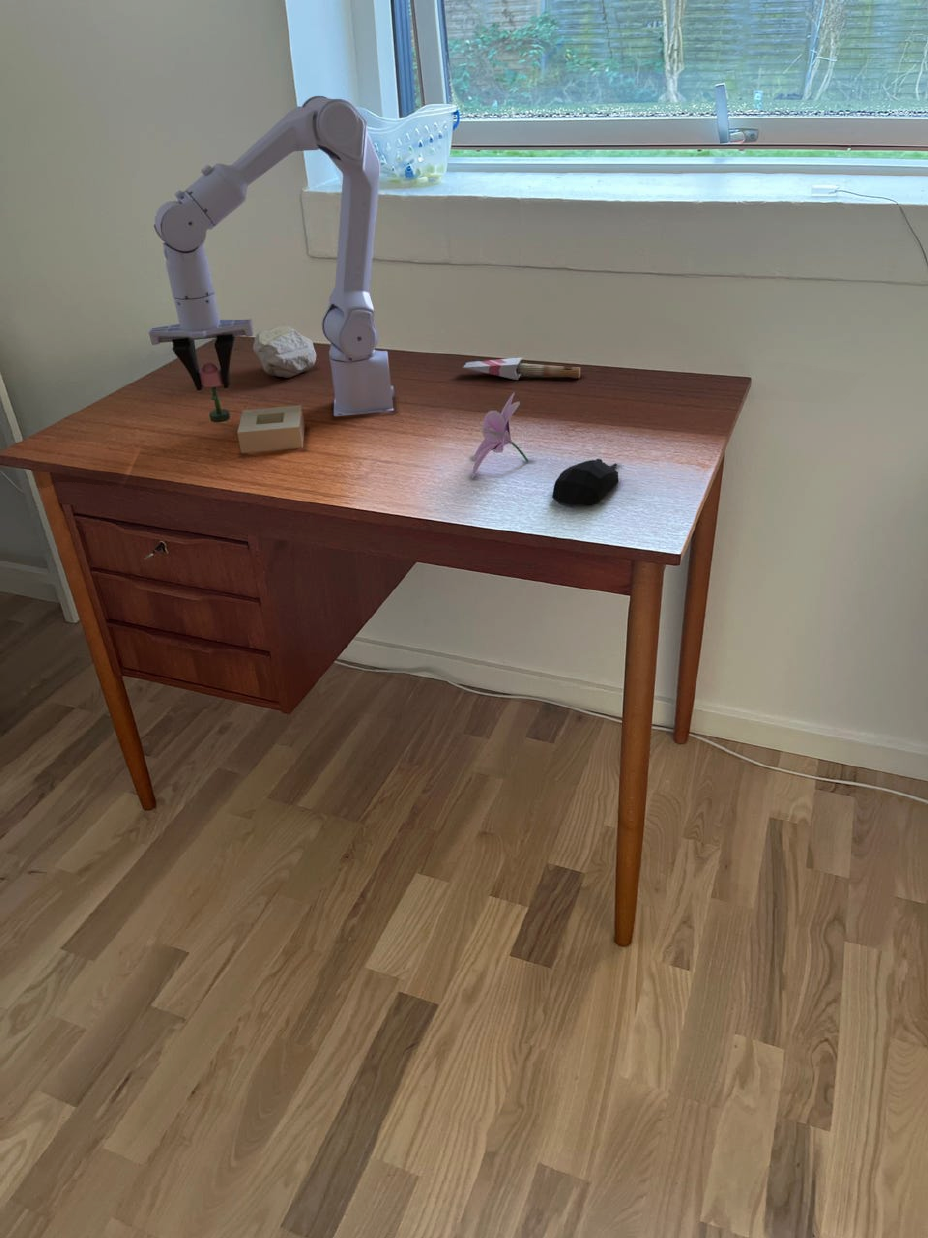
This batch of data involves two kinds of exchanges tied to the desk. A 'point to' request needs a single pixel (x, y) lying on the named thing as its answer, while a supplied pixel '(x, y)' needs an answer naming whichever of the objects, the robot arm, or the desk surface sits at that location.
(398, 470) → the desk surface
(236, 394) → the desk surface
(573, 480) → the gaming mouse
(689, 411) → the desk surface
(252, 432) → the beige square socket block
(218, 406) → the flower
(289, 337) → the white rock
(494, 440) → the lily
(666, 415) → the desk surface
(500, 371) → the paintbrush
